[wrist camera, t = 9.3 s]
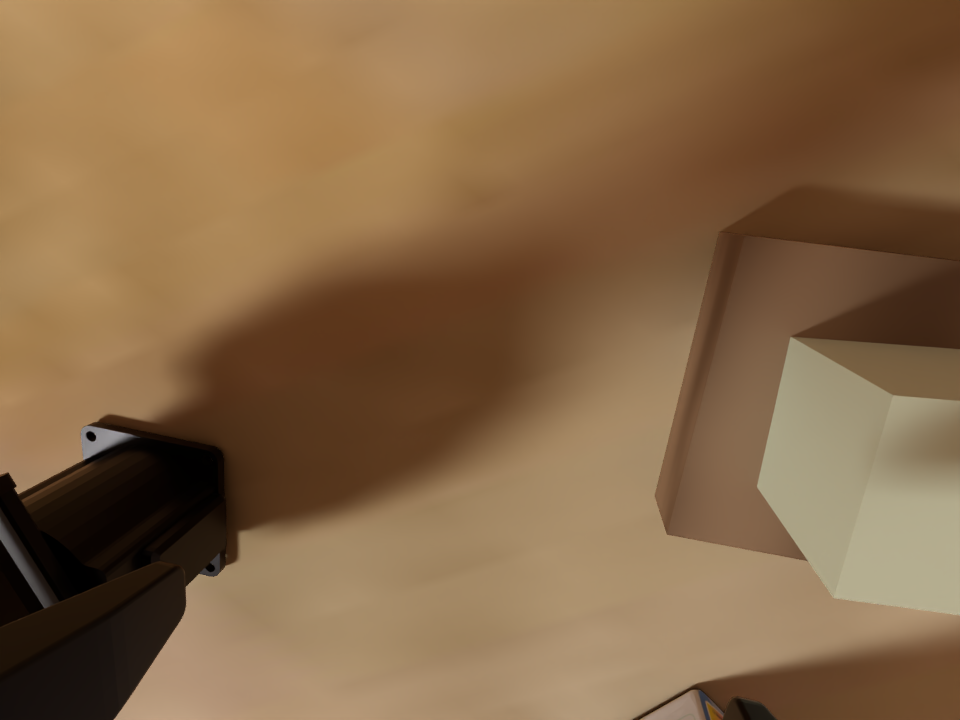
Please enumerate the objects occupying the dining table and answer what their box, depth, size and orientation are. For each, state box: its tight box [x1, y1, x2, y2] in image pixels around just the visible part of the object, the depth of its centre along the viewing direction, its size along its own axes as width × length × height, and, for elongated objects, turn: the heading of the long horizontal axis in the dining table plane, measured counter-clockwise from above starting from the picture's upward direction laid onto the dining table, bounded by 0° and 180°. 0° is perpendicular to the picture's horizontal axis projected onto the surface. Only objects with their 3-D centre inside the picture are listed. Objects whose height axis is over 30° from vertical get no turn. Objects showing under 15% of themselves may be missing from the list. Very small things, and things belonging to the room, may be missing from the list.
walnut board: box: [655, 232, 960, 561], centre depth 17 cm, size 10×10×3 cm
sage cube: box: [757, 337, 960, 615], centre depth 13 cm, size 5×5×5 cm
